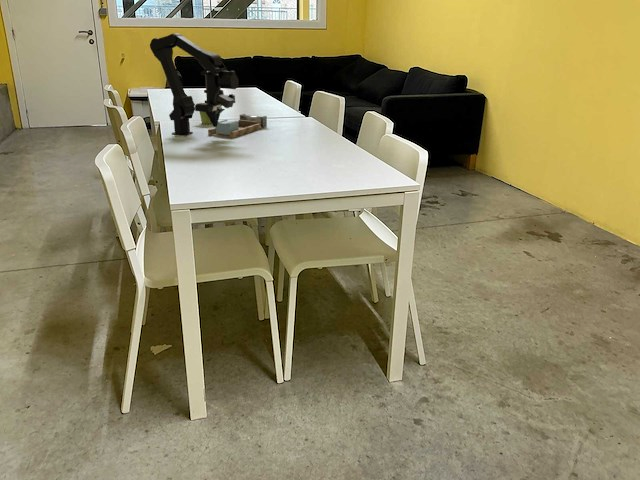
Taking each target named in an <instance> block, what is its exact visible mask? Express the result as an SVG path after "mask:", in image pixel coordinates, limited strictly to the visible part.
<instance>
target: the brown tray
mask: <svg viewBox="0 0 640 480" xmlns="http://www.w3.org/2000/svg"><path fill="white" fill-rule="evenodd" d="M236 121H237V122H238V125H239V130H236V131H232V132H230V135H224V134H216V127H212V128H209V129H207V134H208V136H211V137H218V138H228V139H234V138H238V137H241V136H243V135H247V134H249V133H253V132H257V131H259V130H261V129H262V128H261V124H258V122H256V121H247V120H240V119H238V120H236Z"/></svg>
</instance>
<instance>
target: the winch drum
mask: <svg viewBox="0 0 640 480" xmlns="http://www.w3.org/2000/svg"><path fill="white" fill-rule="evenodd" d="M267 118H268V117H267V115H263V116H259V115H257V116H256V115H247V114H245V113H241V114H239V120H247V121H256V122H258V124H261V129H265V128H267V127H268V126H267V124H268V123H267V121H268V119H267Z"/></svg>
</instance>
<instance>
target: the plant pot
mask: <svg viewBox="0 0 640 480" xmlns="http://www.w3.org/2000/svg"><path fill="white" fill-rule="evenodd" d="M198 112H199V116H200V121H201V124H203V125H210V124H211V125H212V123H211V121H210V119H209V117H208V116H207V114H206V112H201V111H198Z"/></svg>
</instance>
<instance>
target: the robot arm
mask: <svg viewBox="0 0 640 480" xmlns="http://www.w3.org/2000/svg"><path fill="white" fill-rule="evenodd" d="M176 47H178V48H179V49H181V50H182V51H184V52H186V53H187V54H188V55H190V56H192V57H193V58H194V59H195V60H197V62H198V64H199V65H201V67H202V68H204V69H203V71H201V72H200V75H201V76H205V89H204V90H203V93H205V94H206V95H205V96H206V100H204V102H199V103H195V102H194V99H193V96H192V95H188V94H186V92H185V90H184V87H183V84H182V81H181V79H180V76H179V74H178V71H177V70H178V69H176V65H175V63H174V62H175V61H174V60H173V55H174V48H176ZM149 48H150V50H151V53H152V54H153V56H154V57H155V58H156V59H157V60H158V61H159V62H160V65H161V67H162V69H163V73H164V75H165V78H166V80H167V83H168V86H169V89H170V91H171V94H172V96H173V99H172V107H173V109H172V111H171V112H170V113H169V115H168V116H169V119H170V121H173V126H174V127H173V129H174V132H171V135H176V136H177V135H178V136H187V135H191V134H193V133H194V132H193V131H191V127H190V125H191V124H190V123H191V122H190V119H193V116H194V115H193V114H194V113H195V112H199V111H201V112H206V114H207V116H208V117H209V119H210V121H211V123H212V124H211V125H212V126H213V127H212V128H216V127H217V123H218V121H219V119H220V116H221V113H222V112H224V111H225V110H226V109H230V108H233V106H234V104H235V103H236V96H235V94H233V93H230V94H229V95H228V94H224V90H223V89H226V90H237V89H238V87H239V83H240V82H239V78H238V75H237V74H236V71H235V70H229V71H228V68H227V67H226V66H225V64H224V62H223V59H222V57H221V56H220V55H219V54H218V53H215V52H213V51H209V50H205V49H203V48H202V47H200V46H198V45H197V44H196V43H194V42H192V41H191V40H189V39H188V38H186V37H184V36H183V34H181V33H171V34H169V35H166V36H162V37H155V38H152V39H151V41H150V43H149ZM223 107H224V108H223Z"/></svg>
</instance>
